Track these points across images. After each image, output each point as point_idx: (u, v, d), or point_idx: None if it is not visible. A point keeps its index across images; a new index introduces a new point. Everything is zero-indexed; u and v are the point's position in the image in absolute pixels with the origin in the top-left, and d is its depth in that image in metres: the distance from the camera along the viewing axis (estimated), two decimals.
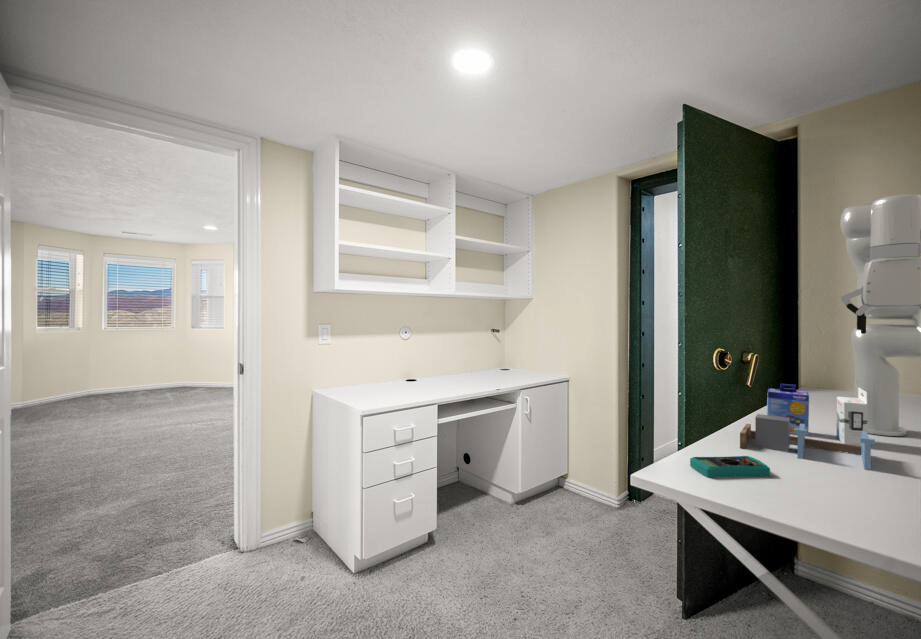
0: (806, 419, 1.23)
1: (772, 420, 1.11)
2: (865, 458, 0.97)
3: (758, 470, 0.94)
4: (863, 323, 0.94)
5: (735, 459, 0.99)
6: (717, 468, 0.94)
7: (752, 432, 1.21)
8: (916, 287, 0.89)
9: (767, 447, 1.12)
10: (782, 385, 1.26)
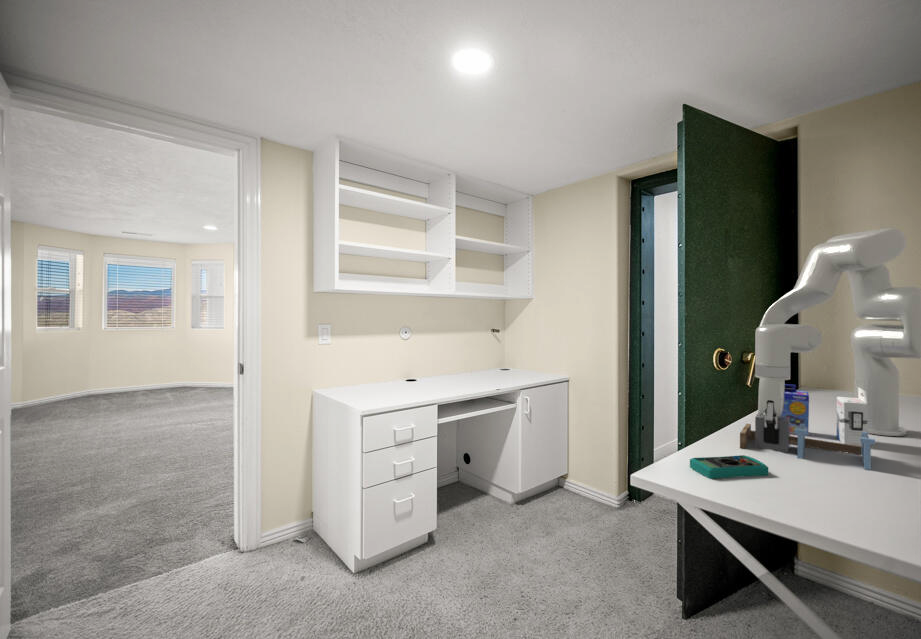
0: (806, 419, 1.23)
1: None
2: (865, 458, 0.97)
3: (757, 469, 0.94)
4: None
5: (733, 459, 0.99)
6: (719, 469, 0.94)
7: (752, 432, 1.21)
8: None
9: (767, 447, 1.12)
10: None
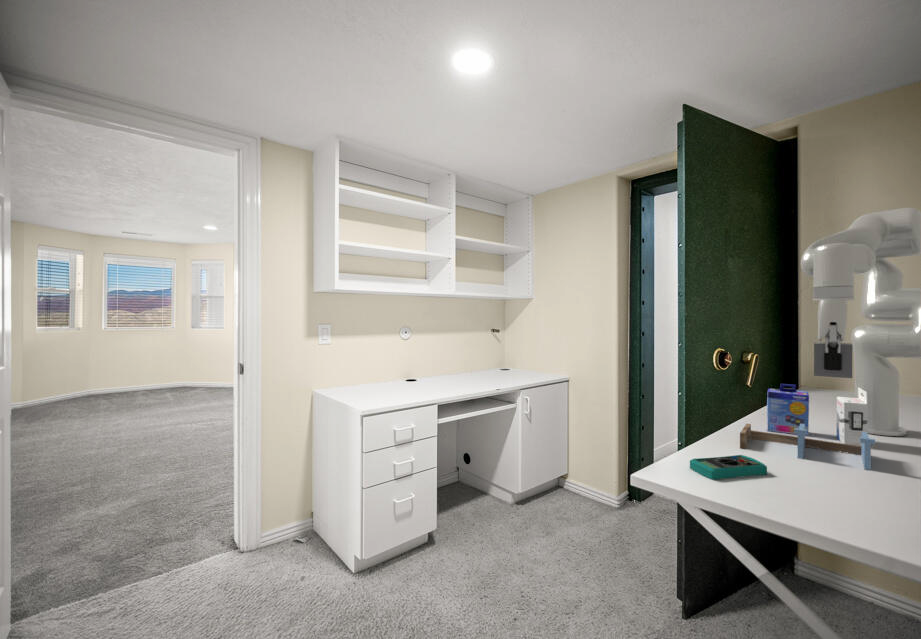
0: (806, 419, 1.23)
1: None
2: (865, 458, 0.97)
3: (757, 469, 0.95)
4: None
5: (732, 459, 0.99)
6: (721, 470, 0.93)
7: (752, 432, 1.21)
8: None
9: (827, 374, 1.04)
10: (782, 385, 1.26)
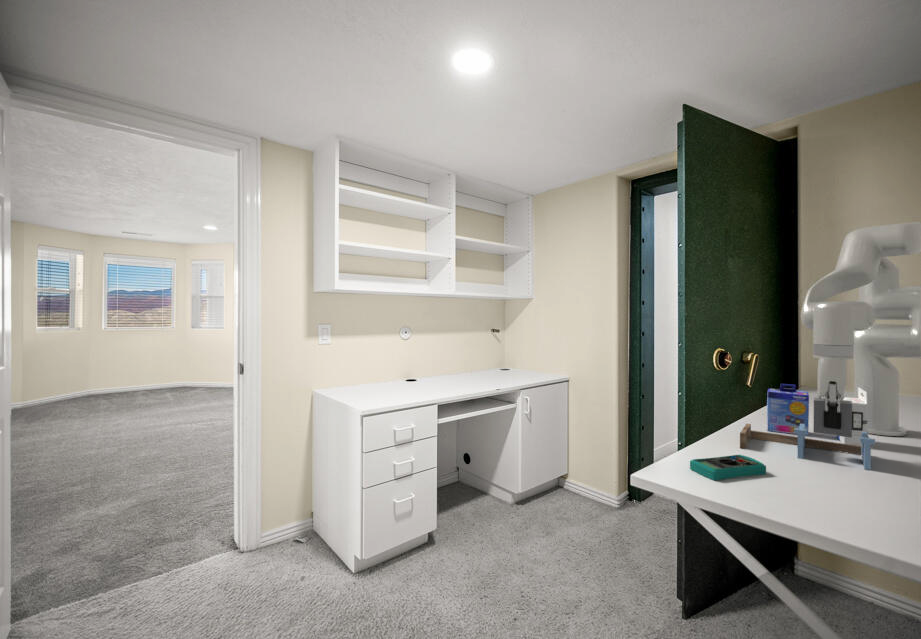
0: (806, 419, 1.23)
1: None
2: (865, 458, 0.97)
3: (756, 468, 0.95)
4: None
5: (731, 459, 0.99)
6: (722, 470, 0.93)
7: (752, 432, 1.21)
8: None
9: (827, 432, 1.04)
10: (782, 385, 1.26)
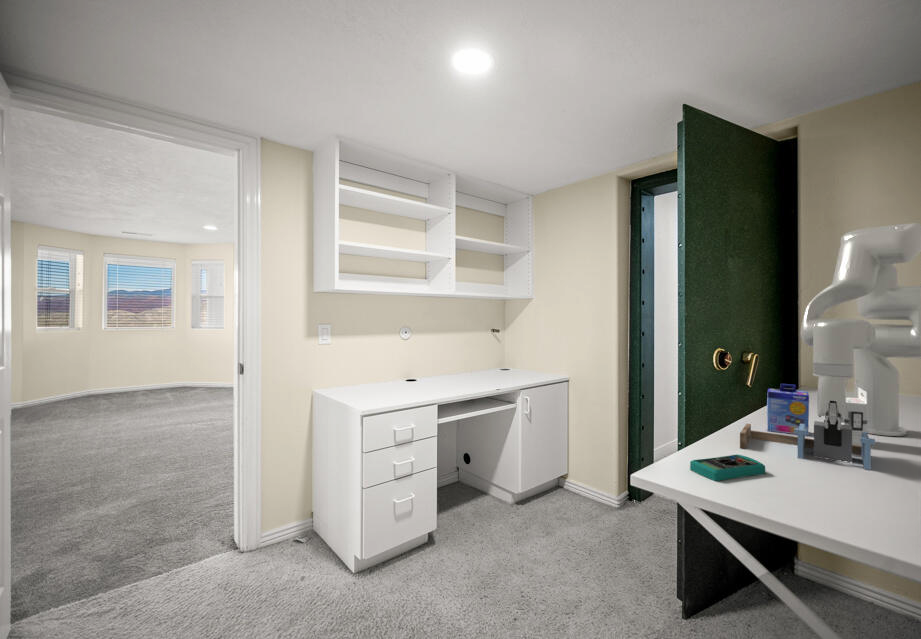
0: (806, 419, 1.23)
1: None
2: (865, 458, 0.97)
3: (756, 468, 0.95)
4: (841, 437, 1.01)
5: (730, 459, 0.99)
6: (723, 470, 0.93)
7: (752, 432, 1.21)
8: None
9: (827, 457, 1.04)
10: (782, 385, 1.26)
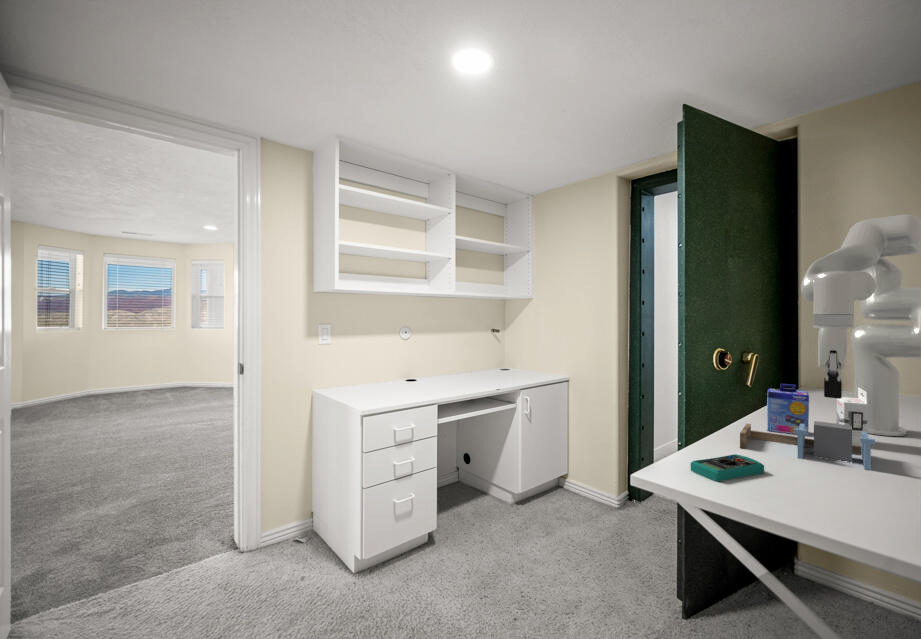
0: (806, 419, 1.23)
1: (833, 428, 1.04)
2: (865, 458, 0.97)
3: (755, 468, 0.95)
4: (841, 389, 1.02)
5: (729, 459, 0.99)
6: (724, 471, 0.92)
7: (752, 432, 1.21)
8: None
9: (827, 457, 1.04)
10: (782, 385, 1.26)
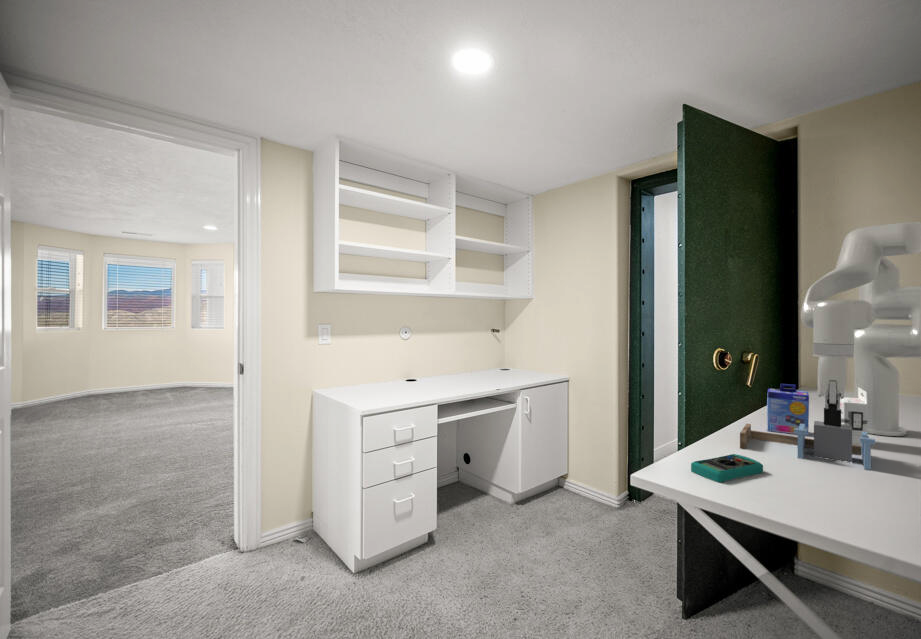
0: (806, 419, 1.23)
1: (833, 428, 1.03)
2: (865, 458, 0.97)
3: (755, 468, 0.95)
4: None
5: (728, 459, 0.99)
6: (726, 471, 0.92)
7: (752, 432, 1.21)
8: None
9: (827, 457, 1.04)
10: (782, 385, 1.26)
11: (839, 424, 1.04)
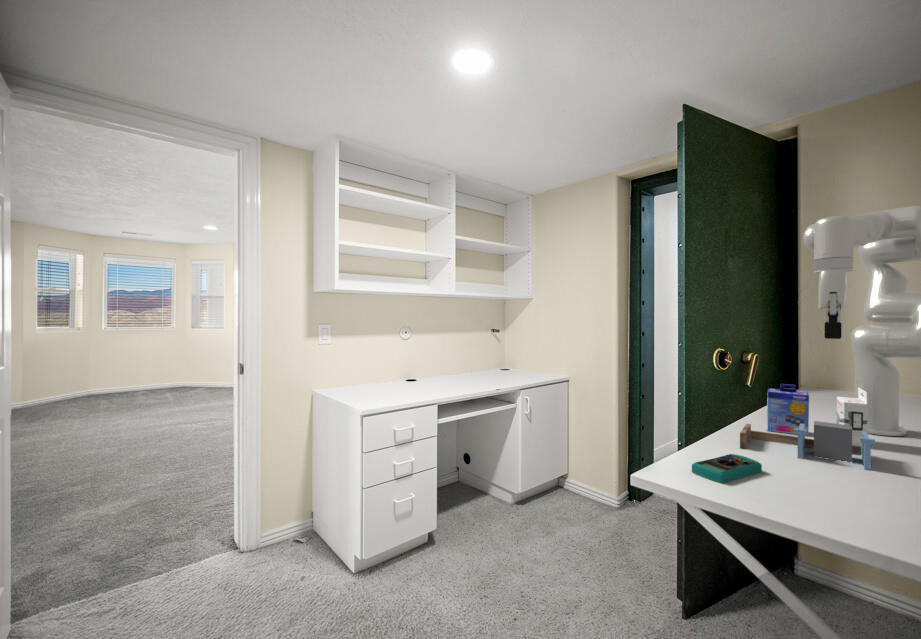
0: (806, 419, 1.23)
1: (833, 428, 1.04)
2: (865, 458, 0.97)
3: (754, 467, 0.95)
4: None
5: (727, 459, 0.99)
6: (727, 472, 0.92)
7: (752, 432, 1.21)
8: None
9: (827, 457, 1.04)
10: (782, 385, 1.26)
11: (839, 336, 1.07)
